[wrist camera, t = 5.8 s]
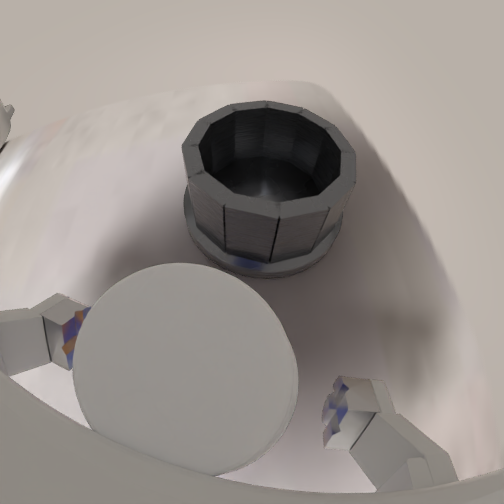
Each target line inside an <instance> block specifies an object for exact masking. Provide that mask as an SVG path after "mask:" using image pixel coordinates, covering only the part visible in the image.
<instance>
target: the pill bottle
mask: <svg viewBox="0 0 504 504" xmlns="http://www.w3.org/2000/svg"><path fill="white" fill-rule="evenodd" d="M73 381H74V387H75V392H76V396H77V399H78V402H79V405H80V408H81V410H82V413H83V415H84V417H85V419H86V420H87V422H88V424H89V425H90V427H91V428H92V430H93V431H95V432H96V433H98V434H100V435H102V436H105V437H107V438H109V439H111V440H113V441H115V442H117V443H119V444H122V445H124V446H126V447H128V448H131V449H133V450H136V451H138V452H140V453H143V454H146V455H148V456H151V457H153V458H156V459H159V460H161V461H164V462H167V463H170V464H173V465H176V466H179V467H182V468H185V469H189V470H192V471H196V472H199V473H203V474H206V475H210V476H217V475H221V474H225V473H229V472H232V471H236V470H238V469H241V468H243V467H245V466H247V465H249V464H251V463H253V462H254V461H256V460H257V459H259V458H260V457H262V456H263V455H264V454H265V453H267V452H268V451H269V450H270V449H271V448H272V447H273V446H274V445H275V444H276V442H277V441H278V440H279V439H280V438H281V436H282V435H283V433H284V432H285V430H286V428H287V426H288V424H289V422H290V420H291V418H292V416H293V413H294V410H295V407H296V403H297V397H298V388H299V378H298V368H297V362H296V358H295V355H294V352H293V349H292V346H291V344H290V341H289V339H288V338H287V335H286V333H285V331H284V329H283V326H282V324H281V322H280V321H279V319H278V317H277V316H276V314H275V313H274V311H273V310H272V309H271V308H270V306H269V305H268V304H267V302H266V301H265V300H264V299H263V298H262V297H261V296H260V295H259V294H258V293H257V292H255V291H254V290H253V289H252V288H251V287H250V286H248V285H247V284H245V283H244V282H242V281H241V280H239V279H238V278H236V277H234V276H232V275H230V274H227V273H225V272H223V271H220V270H218V269H215V268H212V267H208V266H205V265H198V264H192V263H170V264H161V265H156V266H152V267H148V268H145V269H142V270H140V271H137V272H135V273H133V274H131V275H129V276H127V277H125V278H123V279H122V280H120V281H119V282H117V283H116V284H114V285H113V286H112V287H111V288H109V289H108V290H107V291H106V292H105V293H104V294H103V295H102V296H101V297H100V298H99V299H98V300H97V301H96V303H95V304H94V305H93V307H92V308H91V309H90V311H89V312H88V314H87V316H86V318H85V319H84V321H83V323H82V326H81V328H80V330H79V333H78V337H77V340H76V343H75V348H74V354H73Z"/></svg>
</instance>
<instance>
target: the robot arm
mask: <svg viewBox="0 0 504 504" xmlns="http://www.w3.org/2000/svg"><path fill="white" fill-rule="evenodd" d="M13 113H14V108H13V107H12V105H7V106H5V107H4V105H3V103H2V102H1V100H0V149H1V147H2V145H3V144H4V142H5V140H6V139H7V136H8V134H9V132H10V127H11V124H10V119H11V117H12V115H13ZM90 309H91V307H90V306H88V305H85V304H83V303H81V302H79V301H76V300H74V299H72V298H69V297H68V296H65V295H63V294H60V293H57V294H55V295H53V296H51V297H50V298H48V299H46V300H45V301H43V302H41V303H40V304H38V305H36V306H35V307H33V308H31V309H28V308H23V309H14V310H5V311H0V504H504V468H502V469H499V470H496V471H493V472H490V473H487V474H484V475H480V476H477V477H473V478H469V479H465V480H461V481H459V480H458V477H457V474H456V472H455V469H454V467H453V464H452V461H451V459H450V456H449V454H448V453H447V452H446V451H445V450H443V449H442V448H441V447H440V446H438V445H437V444H436V443H435V442H433V441H432V440H431V439H430V438H429V437H427V436H426V435H425V434H424V433H422V432H421V431H420V430H419V429H418V428H416V427H415V426H414V425H413V424H412V423H410V422H409V421H408V420H407V419H406V418H404V417H403V416H402V415H401V414H396V412H395V409H394V406H393V404H392V401H391V398H390V395H389V393H388V390H387V387H386V385H385V382H384V381H382V380H374V379H360V378H352V377H345V376H338V377H337V379H336V380H335V382H334V384H333V389H334V392H333V393H331V394H329V395H328V396H327V399H326V401H325V403H324V407H323V410H322V423H323V424H324V425H325V426H326V428H325V430H324V432H323V440H324V448H326V449H335V450H345V451H349V452H350V454H351V455H352V457H353V458H354V459H355V461H356V462H357V463H358V465H359V466H360V467H361V469H362V470H363V471H364V473H365V474H366V475H367V477H368V478H369V479H370V481H371V482H372V483H373V485H374V486H375V487H376V489H377V491H376V492H375V493H320V492H305V491H294V490H285V489H277V488H270V487H263V486H257V485H251V484H246V483H241V482H236V481H231V480H227V479H222V478H218V477H214V476H210V475H206V474H203V473H199V472H196V471H192V470H189V469H185V468H182V467H179V466H176V465H173V464H170V463H167V462H164V461H161V460H159V459H156V458H153V457H151V456H148V455H146V454H143V453H140V452H138V451H136V450H133V449H131V448H128V447H126V446H124V445H122V444H119V443H117V442H115V441H113V440H111V439H109V438H107V437H105V436H102V435H100V434H98V433H96V432H95V431H93V430H91V429H89V428H87V427H85V426H83V425H81V424H79V423H78V422H76V421H74V420H72V419H71V418H69V417H67V416H65V415H64V414H62V413H60V412H59V411H57V410H56V409H54V408H52V407H51V406H49V405H48V404H46V403H45V402H43V401H42V400H40V399H39V398H37V397H36V396H34V395H33V394H31V393H30V392H28V391H27V390H26V389H24V388H23V387H22V386H20V385H19V384H18V383H16V382H15V381H14V380H12V379H11V378H10V377H9V376H12V375H15V374H18V373H21V372H24V371H27V370H30V369H33V368H36V367H39V366H42V365H45V364H48V363H51V362H53V363H55V364H57V365H59V366H61V367H63V368H64V369H66V370H68V371H70V370H71V369H72V368H73V354H74V348H75V343H76V340H77V337H78V333H79V330H80V328H81V326H82V323H83V321H84V319H85V318H86V316H87V314H88V312H89V311H90Z"/></svg>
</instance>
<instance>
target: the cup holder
mask: <svg viewBox="0 0 504 504" xmlns="http://www.w3.org/2000/svg"><path fill="white" fill-rule="evenodd" d="M182 153H183V159H184V165H185V172H186V178H187V183H188V185H187V187H186V191H185V195H184V213H185V218H186V222H187V226H188V229H189V232H190V234H191V237H192V239H193V240H194V242H195V243H196V245H197V246H198V248H199V249H200V250H201V251H202V252H203V253H204V254H205V255H206V256H207V257H208V258H209V259H211V260H212V261H213V262H214V263H216V264H218V265H219V266H221V267H223V268H225V269H227V270H229V271H231V272H234V273H237V274H240V275H243V276H249V277H254V278H280V277H285V276H290V275H293V274H296V273H299V272H301V271H303V270H305V269H307V268H309V267H311V266H312V265H314V264H315V263H317V262H318V261H319V260H320V259H321V258H322V257H323V256H324V255H325V254H326V253H327V251H328V250H329V249H330V247H331V245H332V243H333V242H334V240H335V238H336V236H337V234H338V232H339V230H340V227H341V223H342V217H343V208H344V206H345V204H346V202H347V200H348V198H349V196H350V194H351V192H352V190H353V188H354V186H355V183H356V153H355V151H354V150H353V148H352V147H351V146H350V144H349V143H348V141H347V140H346V139H345V137H344V136H343V135H342V133H341V132H340V131H339V130H338V128H337V127H335V125H333V124H331V123H330V122H328V121H326V120H325V119H323V118H321V117H319V116H318V115H316V114H314V113H312V112H310V111H309V110H307V109H303V108H302V107H297V106H293V105H288V104H283V103H278V102H272V101H267V102H266V101H254V102H245V103H236V104H230V105H227V106H225V107H223V108H220V109H218V110H216V111H215V112H213V113H211V114H209V115H207V116H205V117H203V118H201V119H199V121H197V122H196V124H195V125H194V127H193V128H192V130H191V132H190V133H189V135H188V136H187V138H186V139H185V141H184V143H183V144H182Z"/></svg>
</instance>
